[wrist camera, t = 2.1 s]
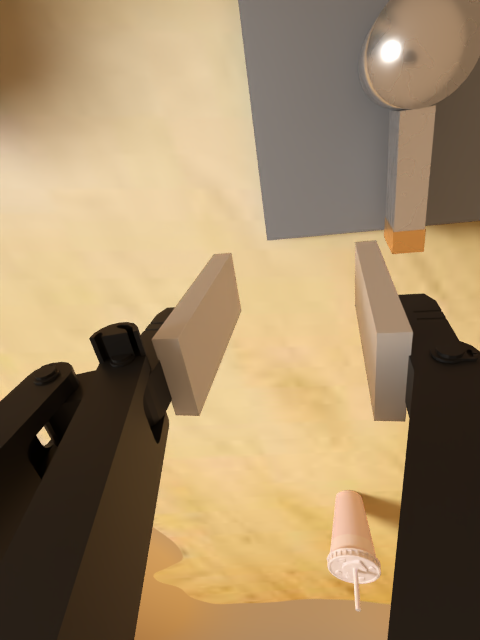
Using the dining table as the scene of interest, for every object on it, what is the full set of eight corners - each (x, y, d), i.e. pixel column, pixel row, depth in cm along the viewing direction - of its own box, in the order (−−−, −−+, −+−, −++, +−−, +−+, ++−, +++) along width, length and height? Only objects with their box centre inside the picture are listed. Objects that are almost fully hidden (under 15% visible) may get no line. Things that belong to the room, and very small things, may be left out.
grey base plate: (269, 233, 35) (266, 241, 33) (228, -123, 24) (220, -143, 22) (533, 208, 30) (547, 215, 28) (641, -267, 19) (679, -311, 17)
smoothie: (378, 491, 51) (395, 608, 39) (364, 516, 54) (375, 631, 42) (332, 479, 51) (336, 591, 39) (321, 505, 55) (321, 615, 43)
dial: (358, 14, 24) (367, -11, 19) (457, -10, 23) (496, -42, 18) (357, 233, 32) (364, 258, 26) (433, 226, 30) (456, 251, 25)
